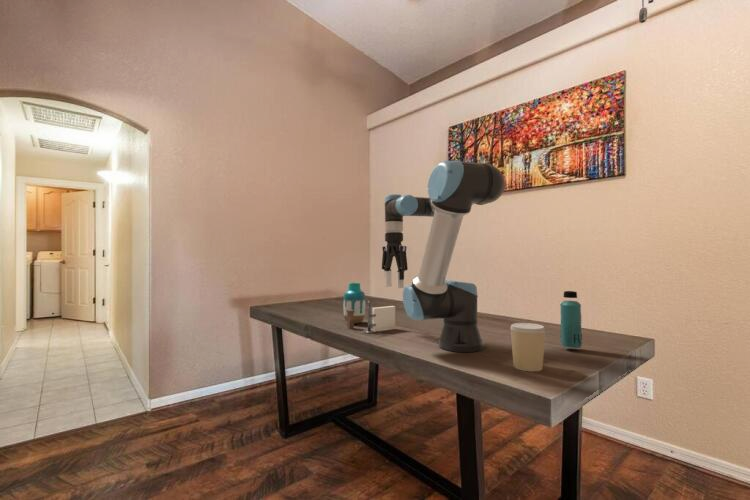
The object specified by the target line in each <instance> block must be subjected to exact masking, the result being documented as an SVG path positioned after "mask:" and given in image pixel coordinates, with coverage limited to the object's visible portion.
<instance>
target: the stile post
mask: <svg viewBox="0 0 750 500" xmlns="http://www.w3.org/2000/svg"><path fill="white" fill-rule="evenodd" d="M346 322H347V329H348V330H352V329H353V330H354V326H355V325H354V310H352V309H351V310H347V321H346Z"/></svg>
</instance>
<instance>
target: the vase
mask: <svg viewBox="0 0 750 500" xmlns="http://www.w3.org/2000/svg"><path fill="white" fill-rule="evenodd" d="M366 304H367V302H366V294H365V292H364V291H363V290H362V289H361V283H360V282H349V283H348V290H346V291H345V292H344V293H343V301H342V307H343V309H342V312H343V317H344V320H345V322H347V310H351V309H352V310H354V324H355V325H356V324H360V323H362V322H363V321H365V317H366V306H367V305H366Z"/></svg>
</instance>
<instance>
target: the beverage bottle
mask: <svg viewBox="0 0 750 500" xmlns="http://www.w3.org/2000/svg"><path fill="white" fill-rule="evenodd" d="M563 298H565V299H566V298H567V299H578V292H577V291H572V290H567V291H563ZM581 307H582V304H580V302H579V301H577V300H563V301H562V302H561V303H560V328H559V329H560V330H559V331H560V332H559V334H560V338H559V339H560V344H561V346H563V347H565V348H571V349H579V348H581V347H582V344H583V343H582V342H583V334H582V323H583V322H582V308H581Z"/></svg>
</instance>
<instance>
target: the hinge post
mask: <svg viewBox="0 0 750 500" xmlns="http://www.w3.org/2000/svg"><path fill="white" fill-rule="evenodd" d="M366 304H367V305H366V306H367V330H365V331H364V333H365V334H374V332H375V330H372V328H371V327H372V326H371V321H372V320H371V318H372V317H371V314H372V313H371V312H372V307H371V306H372V301H371V300H367V302H366Z"/></svg>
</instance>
